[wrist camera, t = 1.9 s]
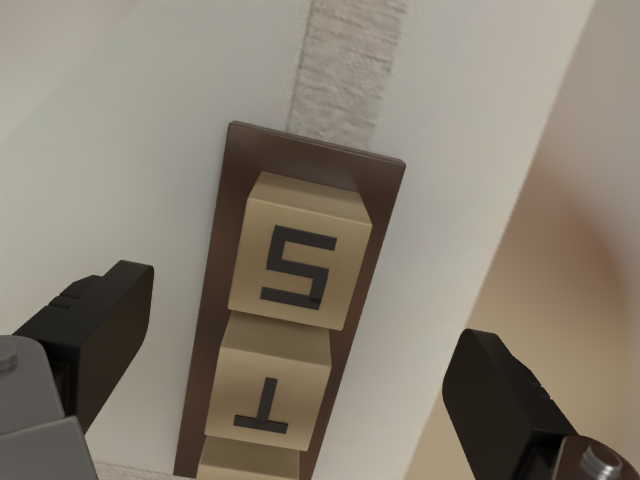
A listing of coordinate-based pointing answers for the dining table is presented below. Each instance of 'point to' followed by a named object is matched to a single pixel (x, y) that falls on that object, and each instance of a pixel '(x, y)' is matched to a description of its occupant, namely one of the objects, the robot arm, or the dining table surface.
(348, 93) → the dining table surface
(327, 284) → the letter S
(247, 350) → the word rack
